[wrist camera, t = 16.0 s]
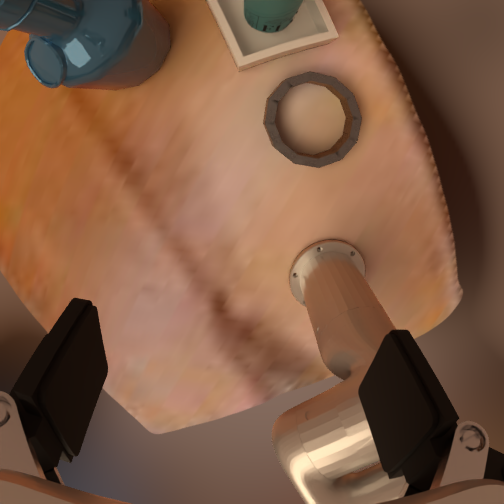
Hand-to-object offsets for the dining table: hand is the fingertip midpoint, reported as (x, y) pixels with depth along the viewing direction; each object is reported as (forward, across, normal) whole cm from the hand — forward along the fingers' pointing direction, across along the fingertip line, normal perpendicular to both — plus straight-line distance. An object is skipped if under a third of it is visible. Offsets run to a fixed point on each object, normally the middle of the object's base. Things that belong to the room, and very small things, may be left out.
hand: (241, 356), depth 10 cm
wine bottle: (+36, +18, -15) cm, 43 cm away
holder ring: (+36, -8, -7) cm, 38 cm away
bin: (+36, 0, -21) cm, 42 cm away
